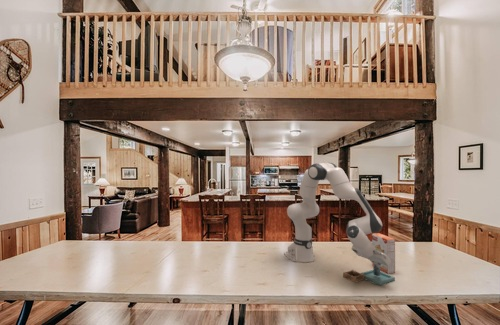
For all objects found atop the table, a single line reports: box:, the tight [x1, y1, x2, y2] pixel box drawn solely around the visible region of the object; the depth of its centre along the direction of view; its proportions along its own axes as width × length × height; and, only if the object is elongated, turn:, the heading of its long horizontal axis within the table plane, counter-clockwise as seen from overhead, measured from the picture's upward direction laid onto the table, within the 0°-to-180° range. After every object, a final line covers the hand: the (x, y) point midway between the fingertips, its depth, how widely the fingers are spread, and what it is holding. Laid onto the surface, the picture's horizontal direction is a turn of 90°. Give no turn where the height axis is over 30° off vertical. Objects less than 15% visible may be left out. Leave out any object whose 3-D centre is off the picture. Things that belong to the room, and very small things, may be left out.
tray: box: [360, 269, 396, 287], centre depth 148 cm, size 13×13×2 cm
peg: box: [372, 261, 381, 276], centre depth 149 cm, size 4×4×12 cm
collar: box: [342, 269, 365, 283], centre depth 149 cm, size 8×8×2 cm
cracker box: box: [371, 232, 396, 275], centre depth 162 cm, size 14×6×21 cm, turn 11°
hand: (377, 263), depth 149 cm, fingers closed on peg, 3 cm apart
